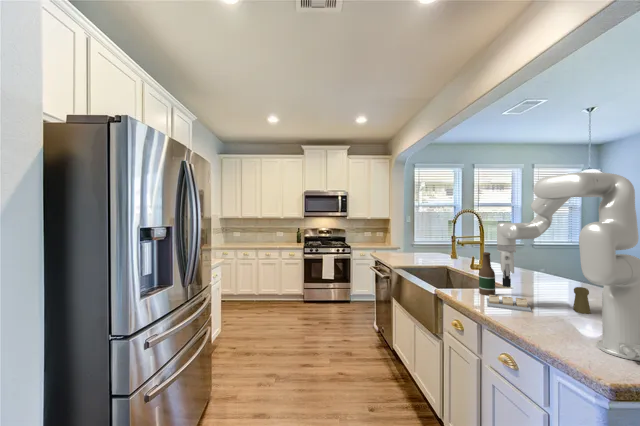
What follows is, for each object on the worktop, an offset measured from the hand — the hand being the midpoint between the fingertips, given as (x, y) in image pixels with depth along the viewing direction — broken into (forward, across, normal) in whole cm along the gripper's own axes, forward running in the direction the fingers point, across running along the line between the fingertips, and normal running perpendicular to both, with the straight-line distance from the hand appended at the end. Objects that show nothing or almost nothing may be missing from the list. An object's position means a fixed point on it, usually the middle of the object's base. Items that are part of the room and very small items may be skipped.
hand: (506, 286), depth 137 cm
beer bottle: (+11, +18, +8) cm, 22 cm away
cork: (+10, +9, -29) cm, 32 cm away
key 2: (+9, 0, 0) cm, 9 cm away
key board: (+10, 0, 0) cm, 10 cm away
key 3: (+9, 0, +5) cm, 10 cm away
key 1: (+9, 0, -6) cm, 11 cm away
